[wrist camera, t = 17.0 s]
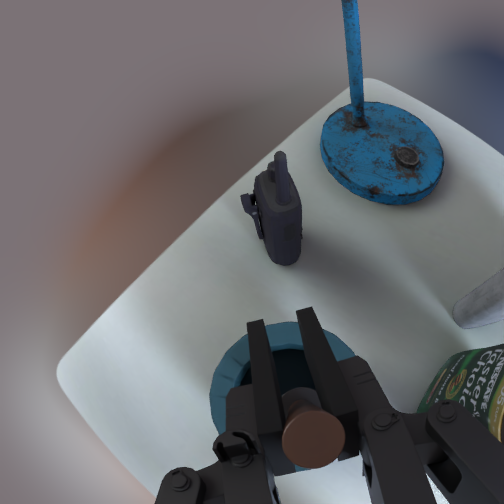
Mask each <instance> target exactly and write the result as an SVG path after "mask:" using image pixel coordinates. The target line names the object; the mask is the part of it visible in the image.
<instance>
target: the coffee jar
mask: <svg viewBox="0 0 504 504" xmlns="http://www.w3.org/2000/svg"><path fill="white" fill-rule="evenodd" d="M445 399H451V400H455V401H457V402H459V403H460V404H462V405H463V406H464V407H465V408H466V409H467V410H468V411H469V412H470V413H471V414H472V415H473V416H474V417H475V418H476V419H477V420H478V421H479V422H481V423H482V424H483V425H484V426H485V427H486V428H487V429H488V430H489V431H490V432H491V433H492V434H493V435H494V436H495V437H496V438H497V439H498V440H499V441H500V442H501V443H502V444H503V445H504V344H500V345H496V346H492V347H487V348H481V349H474V350H468V351H464V352H460V353H457V354H455V355H453V356H452V357H450V358H449V359H448V360H447V361H446V363H445V364H444V365H443V367H442V368H441V369H440V371H439V372H438V374H437V375H436V377H435V378H434V380H433V382H432V383H431V385H430V387H429V388H428V390H427V392H426V394H425V395H424V397H423V399H422V401H421V403H420V405H419V408H418V410H417V413H422V412H428V411H429V409H430V407H431V406H432V405H433V404H434V403H436V402H438V401H440V400H445Z"/></svg>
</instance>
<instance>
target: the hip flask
mask: <svg viewBox="0 0 504 504" xmlns="http://www.w3.org/2000/svg"><path fill="white" fill-rule="evenodd" d="M453 316H454V320H455V322H456V323H457V324H458V325H459V326H460V327H462V328H465V329H468V328H474V327H479V326H484V325H488V324H491V323H494V322H497V321H500V320H502V319H504V268H503V269H502V270H500V271H499V272H498V273H496V274H495V275H494V276H492V277H491V278H490V279H488V280H487V281H486V282H484V283H483V284H482V285H480V286H479V287H478V288H476V289H475V290H473V291H472V292H471V293H469V294H468V295H466V296H465V297H463V298H462V299H460V300H459V301H458V302H457V303H456V304H455V306H454V309H453Z"/></svg>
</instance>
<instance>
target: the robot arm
mask: <svg viewBox="0 0 504 504" xmlns="http://www.w3.org/2000/svg"><path fill="white" fill-rule="evenodd" d="M296 314H297V319H298V324H299V329H300V334H301V339H302V344H303V349H304V354H305V358H306V361H307V364H308V367H309V370H310V373H311V376H312V379H313V382H314V385H315V388H316V392H317V395H318V398H319V401H320V404H321V407H322V409H323V410H325V411H326V412H328V413H330V414H332V415H333V416H335V417H336V418H337V419H338V420H339V421H340V422H341V424H342V426H343V428H344V431H345V444H344V448H343V450H342V452H341V453H340V455H339V456H338V457H337V458H338V461H342V460H345V459H349V458H352V457H355V456H358V455H359V450H360V453H361V455H362V458H363V476H365V477H366V482H367V486H368V490H369V494H370V498H371V502H372V504H437V502H436V500H435V497H434V494H433V491H432V489H431V486H430V483H429V481H428V478H427V475H428V476H429V477H430V479H431V480H432V481H433V483H434V484H435V485H436V486H437V488H438V489H439V490H440V492H441V493H442V494H443V495H444V497H445V498H446V499H447V501H448V502H449V503H450V504H504V445H503V444H502V443H501V442H500V441H499V440H498V439H497V438H496V437H495V436H494V435H493V434H492V433H491V432H490V431H489V430H488V429H487V428H486V427H485V426H484V425H483V424H482V423H481V422H479V421H478V420H477V419H476V418H475V417H474V416H473V415H472V414H471V413H470V412H469V411H468V410H467V409H466V408H465V407H464V406H463V405H462V404H460V403H459V402H457V401H455V400H451V399H445V400H440V401H438V402H436V403H434V404H433V405H432V406H431V407H430V409H429V411H428V412H422V413H414V414H407V413H402V412H399V411H397V410H395V409H394V408H393V407H392V406H391V405H390V403H389V401H388V399H387V398H386V396H385V394H384V392H383V390H382V388H381V387H380V385H379V383H378V381H377V379H376V378H375V376H374V374H373V372H372V370H371V369H370V367H369V365H368V363H367V362H366V361H365V360H363V359H362V358H360V357H359V356H354V357H351V358H347V359H344V360H341V361H337V360H336V358H335V356H334V354H333V351H332V349H331V347H330V345H329V343H328V340H327V338H326V336H325V334H324V332H323V329H322V327H321V325H320V323H319V321H318V319H317V316H316V314H315V312H314V310H313V308H312V307H308V308H305V309H301V310H297V311H296ZM247 332H248V343H249V353H250V364H251V374H252V384H248V385H244V386H239V387H233V388H230V390H229V392H228V394H227V396H226V431H225V432H223V433H222V434H221V435H219V436H218V437H217V438H216V440H215V441H214V443H213V451H214V452H215V454H216V456H217V457H218V459H219V460H218V461H217V462H216V463H215V464H213V465H211V466H208V467H206V468H203V469H201V470H198V471H195V470H193V469H192V468H187V467H180V468H176V469H174V470H171V471H170V472H169V473H167V474H166V475H165V477H164V479H163V480H162V483H161V486H160V489H159V492H158V495H157V498H156V501H155V504H281V502H280V498H279V494H278V490H277V487H276V485H275V482H274V476H280V475H285V474H290V473H295V472H296V469H295V464H294V463H292V462H291V461H290V460H289V459H288V458H287V456H286V455H285V453H284V451H283V448H282V435H283V431H284V427H285V423H286V418H285V413H284V408H283V403H282V398H281V392H280V387H279V382H278V377H277V372H276V367H275V362H274V358H273V355H272V351H271V347H270V344H269V340H268V336H267V332H266V329H265V325H264V321H263V319H261V320H257V321H252V322H248V323H247ZM425 472H426V473H427V475H426V473H425ZM273 473H274V475H273Z"/></svg>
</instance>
